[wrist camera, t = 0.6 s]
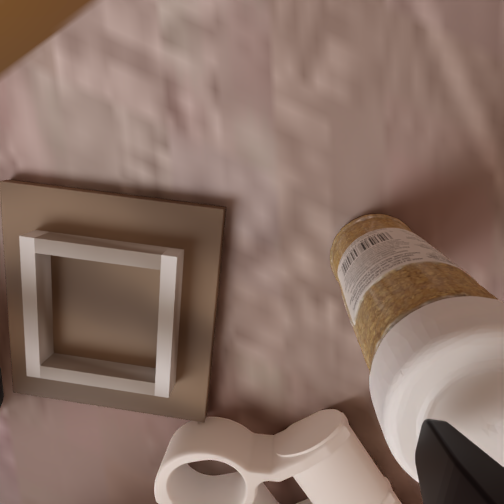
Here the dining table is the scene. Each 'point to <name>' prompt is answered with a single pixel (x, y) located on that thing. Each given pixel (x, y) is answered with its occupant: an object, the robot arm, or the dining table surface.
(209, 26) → the dining table surface
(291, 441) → the white compartment tray
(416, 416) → the sprinkles bottle
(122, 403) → the brown flat square frame
